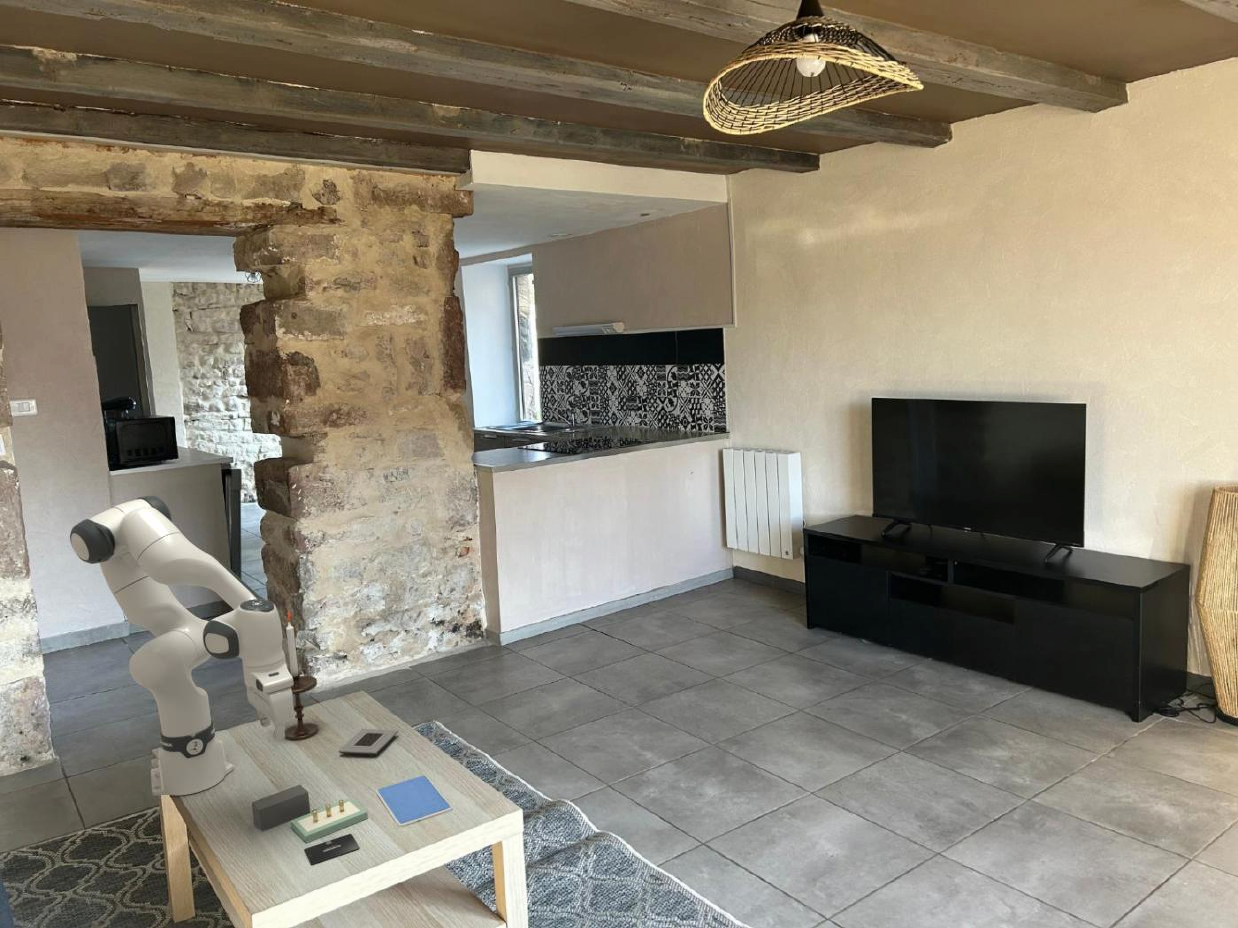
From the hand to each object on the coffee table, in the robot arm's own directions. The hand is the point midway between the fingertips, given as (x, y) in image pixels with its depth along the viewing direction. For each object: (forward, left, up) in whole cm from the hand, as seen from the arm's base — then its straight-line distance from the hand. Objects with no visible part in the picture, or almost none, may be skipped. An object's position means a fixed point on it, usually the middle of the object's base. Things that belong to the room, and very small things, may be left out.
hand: (272, 731), depth 200 cm
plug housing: (0, 0, -21) cm, 21 cm away
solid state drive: (+21, +3, -21) cm, 30 cm away
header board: (+10, +7, -21) cm, 24 cm away
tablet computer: (+15, +25, -21) cm, 36 cm away
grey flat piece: (-20, +30, -21) cm, 42 cm away
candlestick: (-42, +20, -21) cm, 51 cm away
